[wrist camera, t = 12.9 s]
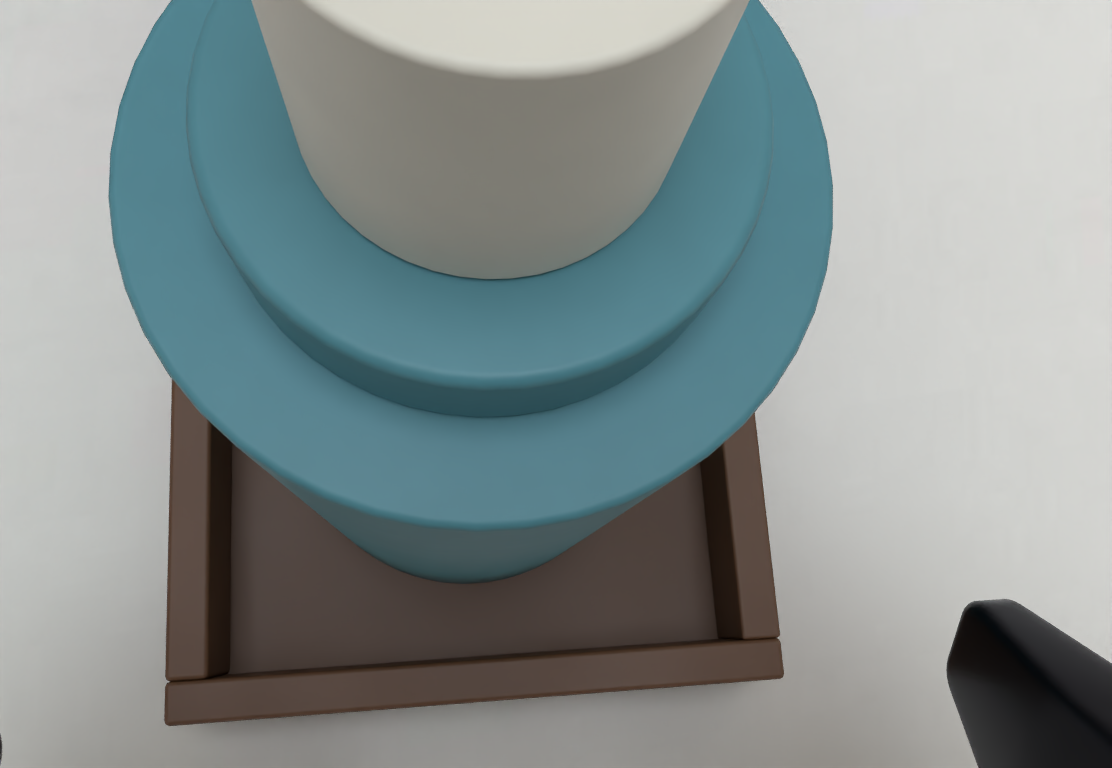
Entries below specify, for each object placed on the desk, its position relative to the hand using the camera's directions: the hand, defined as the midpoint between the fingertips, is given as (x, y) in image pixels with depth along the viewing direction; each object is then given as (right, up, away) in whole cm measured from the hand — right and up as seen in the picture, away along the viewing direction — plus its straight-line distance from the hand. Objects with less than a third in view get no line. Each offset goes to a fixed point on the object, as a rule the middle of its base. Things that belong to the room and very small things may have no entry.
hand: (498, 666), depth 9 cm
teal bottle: (-1, +2, +8) cm, 8 cm away
